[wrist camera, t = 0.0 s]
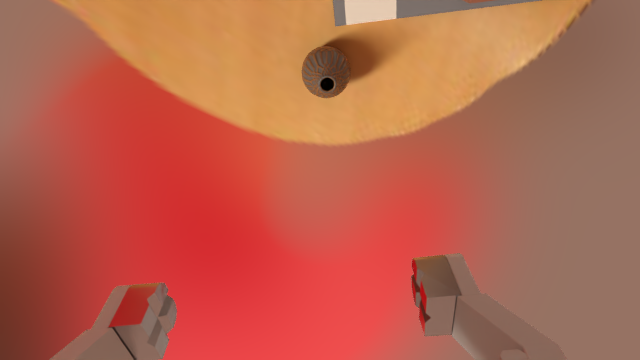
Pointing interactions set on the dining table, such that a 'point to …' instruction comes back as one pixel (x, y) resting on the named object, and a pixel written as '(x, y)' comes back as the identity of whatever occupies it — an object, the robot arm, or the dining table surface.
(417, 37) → the dining table surface
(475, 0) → the t block
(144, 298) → the robot arm
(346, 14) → the board
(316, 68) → the vase
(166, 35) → the dining table surface
